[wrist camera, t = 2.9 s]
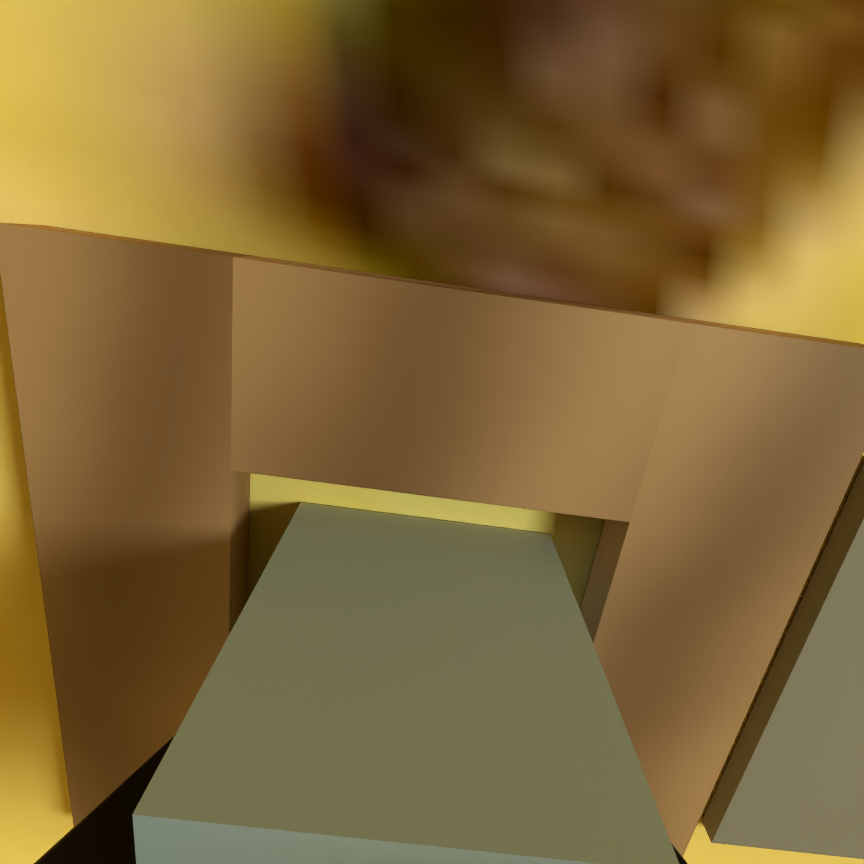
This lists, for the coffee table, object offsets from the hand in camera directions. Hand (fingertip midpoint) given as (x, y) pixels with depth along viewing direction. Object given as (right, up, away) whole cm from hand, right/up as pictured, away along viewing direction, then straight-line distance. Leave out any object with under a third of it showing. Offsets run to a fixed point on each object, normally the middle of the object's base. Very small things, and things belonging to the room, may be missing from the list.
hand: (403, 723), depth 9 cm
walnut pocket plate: (0, +1, +2) cm, 2 cm away
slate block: (0, +1, +2) cm, 3 cm away
